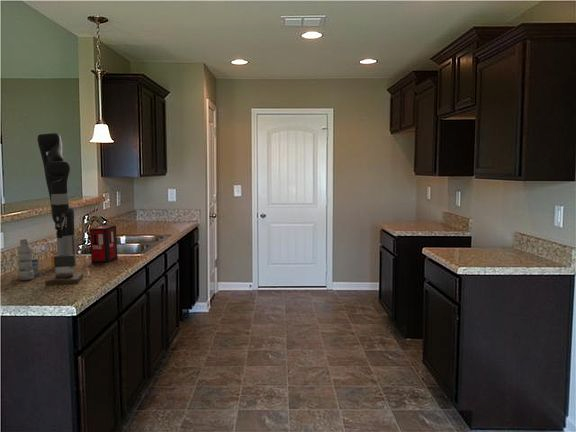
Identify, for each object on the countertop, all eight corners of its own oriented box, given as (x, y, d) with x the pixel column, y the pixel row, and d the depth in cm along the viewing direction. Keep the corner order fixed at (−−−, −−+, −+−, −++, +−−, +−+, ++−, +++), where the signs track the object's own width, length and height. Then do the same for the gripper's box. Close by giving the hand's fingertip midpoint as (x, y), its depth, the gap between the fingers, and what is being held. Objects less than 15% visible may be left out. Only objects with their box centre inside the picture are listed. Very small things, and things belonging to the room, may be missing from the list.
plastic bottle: (20, 279, 245) (17, 239, 243) (35, 278, 247) (32, 238, 245) (18, 282, 239) (15, 241, 237) (33, 280, 241) (30, 240, 239)
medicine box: (24, 278, 246) (23, 261, 245) (19, 277, 249) (17, 260, 248) (39, 275, 253) (38, 259, 252) (34, 274, 255) (33, 258, 254)
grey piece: (51, 278, 234) (50, 257, 233) (55, 274, 242) (54, 254, 241) (74, 277, 237) (72, 256, 236) (77, 273, 244) (76, 253, 243)
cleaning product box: (102, 258, 299) (101, 225, 297) (117, 258, 299) (115, 225, 297) (91, 263, 283) (89, 229, 281) (107, 263, 283) (105, 228, 281)
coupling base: (52, 278, 245) (52, 274, 245) (82, 277, 248) (82, 272, 248) (45, 285, 231) (45, 280, 231) (77, 283, 234) (77, 278, 234)
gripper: (55, 202, 242) (57, 235, 244) (47, 204, 228) (50, 239, 230) (71, 202, 244) (73, 234, 245) (65, 204, 230) (67, 238, 231)
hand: (62, 236), depth 238 cm, fingers open, 8 cm apart
